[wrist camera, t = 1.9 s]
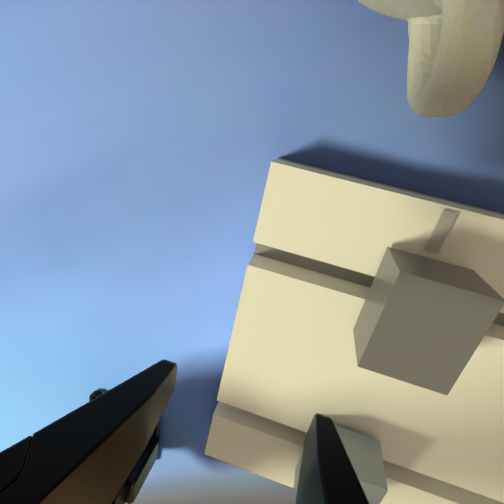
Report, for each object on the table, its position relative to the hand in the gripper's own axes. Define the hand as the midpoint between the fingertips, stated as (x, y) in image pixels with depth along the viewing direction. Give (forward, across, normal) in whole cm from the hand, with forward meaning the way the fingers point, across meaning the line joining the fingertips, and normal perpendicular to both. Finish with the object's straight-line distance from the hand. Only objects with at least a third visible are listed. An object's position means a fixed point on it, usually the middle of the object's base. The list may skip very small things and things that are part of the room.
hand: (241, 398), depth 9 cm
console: (+12, -9, +6) cm, 16 cm away
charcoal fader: (+11, -7, 0) cm, 13 cm away
